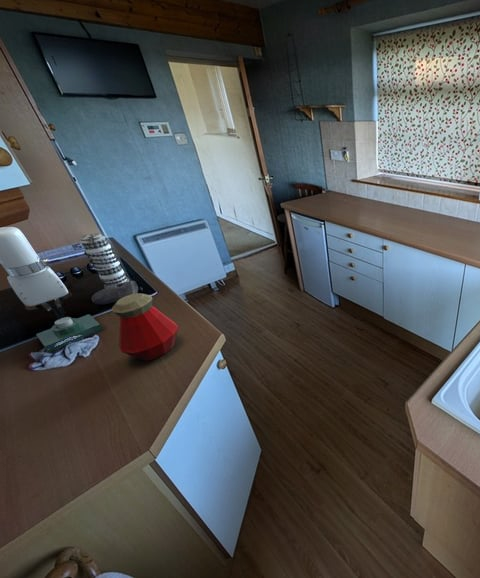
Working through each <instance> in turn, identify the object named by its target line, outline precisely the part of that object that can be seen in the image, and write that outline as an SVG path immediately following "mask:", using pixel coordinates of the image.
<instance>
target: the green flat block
mask: <svg viewBox="0 0 480 578" xmlns="http://www.w3.org/2000/svg"><path fill="white" fill-rule="evenodd" d="M71 319H72V321H73V322H74V323H73V324H72V325H70V326H68V327H65V328H61V329H58V328H57V326H56V325H55V324H54V325H52V327H51V328H49V329H46V330H43V331H41V332H38V333H36V334H35V335H36V337H37V338H38V339H39V340H40V342H41V344H42V345H43V346H44V348H45V349H46V350H47V349H49V348H51V347H52V346H54V345H55V344H56V343H58V342H61V341H64V340H65V339H67V338H69V337H73V336H78V335H82V336H80V337H77V338H76V339H73V340H70V341H68V342H65V343H63V344H61V345H58V346H56V347H53V348H51V349H49V350H47V352H49V353H51V352H54V351H56V350H59V349H61V348H63V347H65V346H67V344H68V343H69V342H72V343H75V342H77V341H79V340H82V339H85V338H87V337H89V336H92V335H94V334H96V333H98V332H101V331H104V328H103V327H102V325H101V324H100V323H99V322H98V321H97V320H96V319H95V318H94V317H93V316H92V315H91V314H86V315H83V316H81V317H78V318H76V317H75V318H74V317H71ZM74 341H75V342H74ZM68 345H69V344H68Z"/></svg>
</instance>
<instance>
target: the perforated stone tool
mask: <svg viewBox="0 0 480 578" xmlns="http://www.w3.org/2000/svg"><path fill="white" fill-rule="evenodd" d="M138 292H139V286H138V284H137V282H136V281H135V280H129V281H128V282H124V283H120V284H116V285H113V286H110V287H107V288H105V287H104V288H103V289H100V290H98V291H97V292H95V293H93V295H92V296H91V302H92V303H93V304H95V305H98V306H99V305H100V306H101V305H110V304H112V303H114V304H115V303H116V302H117V301H118V300H120V299H121V298H123V297H125V296H128V295H131V294H136V293H138Z"/></svg>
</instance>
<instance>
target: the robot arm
mask: <svg viewBox="0 0 480 578" xmlns="http://www.w3.org/2000/svg"><path fill="white" fill-rule="evenodd" d="M47 264H50V260H49V259H48V258H46V259H45V258H44V259H42V258H40V256H39V255H38V254H37V252H36V251H35V250H34V248H33V246H32V245H31V243H30V242H29V240H28V239H27V237H26V236H25V235H24V233H23V232H22V231H21V229H19V228H18V227H15V226H3V227H0V265H1V266H2V267H3V268H4V270H5V271H6V272H7V274H8V276H7V281H8V283H9V285H10V287H11V289H12V290H13V292H14V293H15V295H16V296H17V298H19V300H20V301H21V303H23V305H24V309H25V310H26V311H31V310H38V309H39V310H45V311H48V313H49V314H50V315H51V316H52V318H54V319H55V318H57V320H60V319H61V318H65V317H66V316H65V315H66V314H67V313H66V311H65V310H64V308H63V307H62V306H63V303H64V302H65V300H67V299H69V298H71V297H72V295H73V294H72V293H71V292H70V291H69V290H68V289H67V287H66V285H65V284H64V283H63V281H62V280H61V278H60V277H59V276H58V275H57V274H56V272H55V271H54V270H53V269H52V268H51V267H50V266H48V265H47ZM50 301H52V302H53V306H52V305H50V304H49V303H47V302H50Z"/></svg>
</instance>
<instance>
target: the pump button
mask: <svg viewBox="0 0 480 578" xmlns="http://www.w3.org/2000/svg"><path fill="white" fill-rule="evenodd" d="M73 323H74V322H73V321H72V317H70V316H65V318H62V317H61V319H60V320H59V319H57V320H55V321H54V325H56V326H57V328H58V329H61V328H65V327H68V326H70V325H72V324H73Z"/></svg>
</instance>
